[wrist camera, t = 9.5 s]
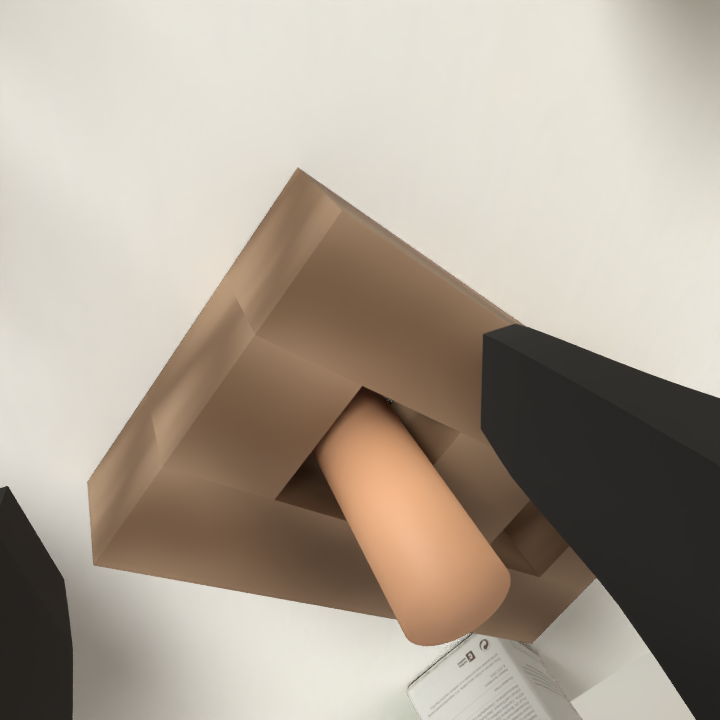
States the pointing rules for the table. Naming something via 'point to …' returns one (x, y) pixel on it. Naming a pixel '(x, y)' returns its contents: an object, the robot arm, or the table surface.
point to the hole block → (317, 423)
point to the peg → (410, 525)
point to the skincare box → (490, 685)
